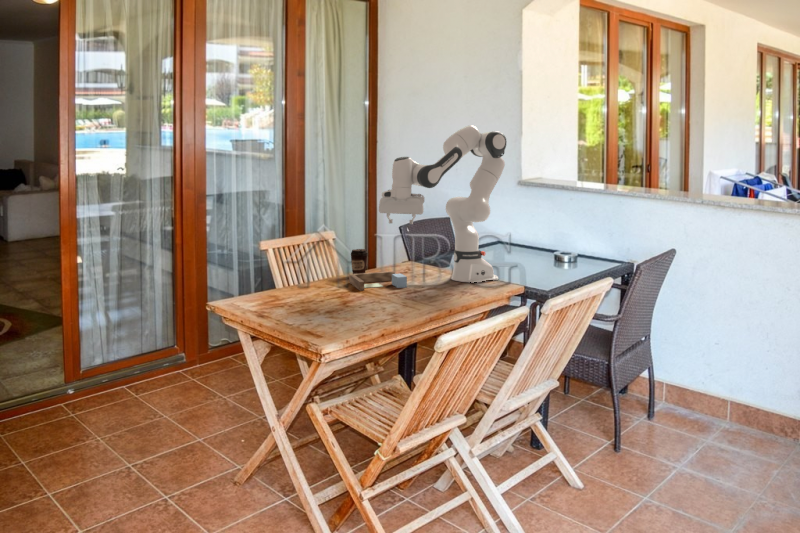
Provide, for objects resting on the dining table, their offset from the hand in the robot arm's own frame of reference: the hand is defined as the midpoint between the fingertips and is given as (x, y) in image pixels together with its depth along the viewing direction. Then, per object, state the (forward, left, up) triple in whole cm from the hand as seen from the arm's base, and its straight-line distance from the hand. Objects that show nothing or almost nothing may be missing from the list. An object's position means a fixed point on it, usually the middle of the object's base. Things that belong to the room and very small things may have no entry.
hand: (400, 223), depth 342 cm
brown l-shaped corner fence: (+10, -3, -28) cm, 30 cm away
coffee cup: (+12, -25, -29) cm, 40 cm away
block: (+1, +2, -29) cm, 29 cm away
